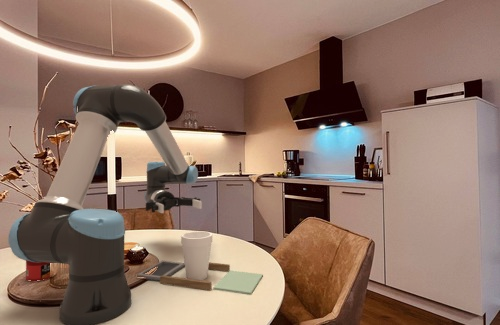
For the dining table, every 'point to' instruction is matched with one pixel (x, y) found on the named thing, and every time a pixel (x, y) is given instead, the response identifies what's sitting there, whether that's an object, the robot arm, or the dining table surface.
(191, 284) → the channel rails
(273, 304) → the dining table surface
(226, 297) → the dining table surface
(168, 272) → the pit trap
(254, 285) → the pad
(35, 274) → the canned food
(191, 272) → the foam cup
